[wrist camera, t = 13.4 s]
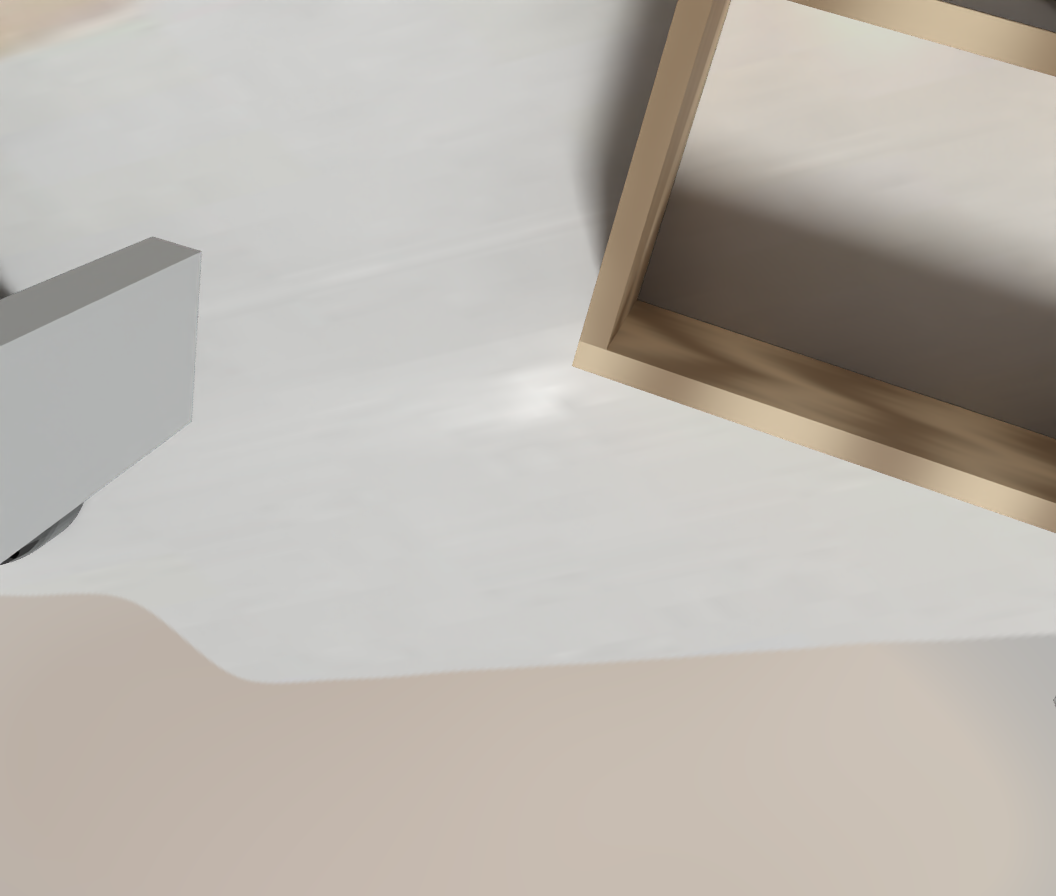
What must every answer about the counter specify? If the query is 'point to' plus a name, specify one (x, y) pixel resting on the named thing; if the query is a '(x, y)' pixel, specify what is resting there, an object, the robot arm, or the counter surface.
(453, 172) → the counter surface
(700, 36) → the frame
